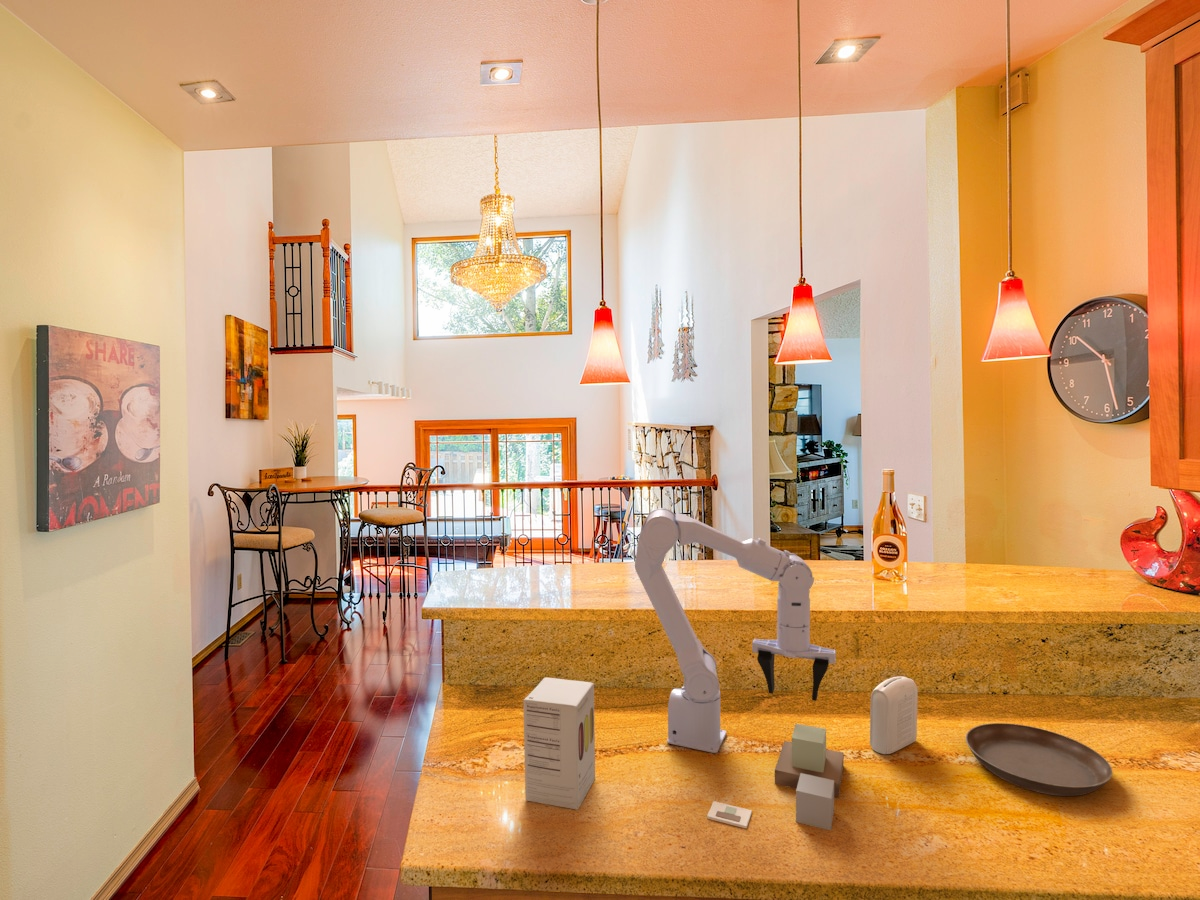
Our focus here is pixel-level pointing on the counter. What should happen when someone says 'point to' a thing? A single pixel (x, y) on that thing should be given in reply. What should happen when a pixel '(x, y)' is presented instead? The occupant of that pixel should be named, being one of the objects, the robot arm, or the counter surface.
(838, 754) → the walnut slab
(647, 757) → the counter surface
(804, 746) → the sage cube
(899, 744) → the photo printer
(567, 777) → the supplement box
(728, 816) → the card
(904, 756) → the counter surface
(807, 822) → the grey cube
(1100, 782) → the plant saucer
